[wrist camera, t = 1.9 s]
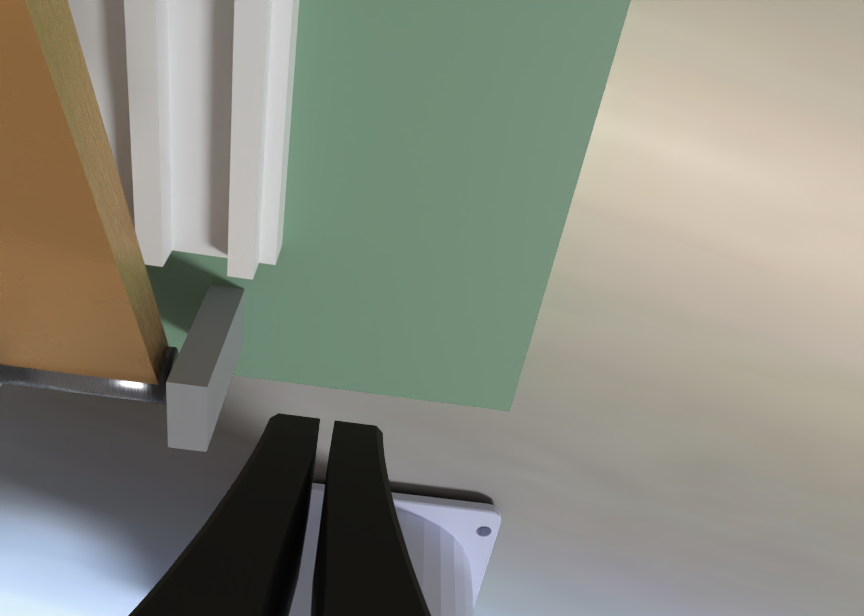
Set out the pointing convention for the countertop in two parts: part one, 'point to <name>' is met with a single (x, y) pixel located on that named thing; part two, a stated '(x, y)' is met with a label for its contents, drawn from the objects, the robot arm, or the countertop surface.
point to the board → (347, 183)
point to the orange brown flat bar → (67, 226)
